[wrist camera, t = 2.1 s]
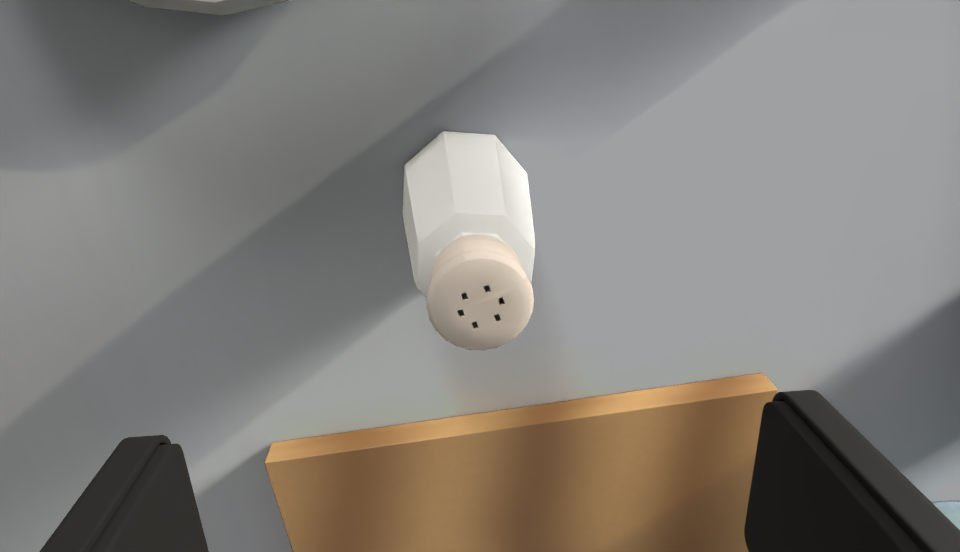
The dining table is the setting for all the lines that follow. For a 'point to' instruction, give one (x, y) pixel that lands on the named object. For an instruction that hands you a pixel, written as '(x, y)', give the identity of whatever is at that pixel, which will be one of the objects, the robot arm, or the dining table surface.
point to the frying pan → (208, 5)
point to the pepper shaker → (470, 238)
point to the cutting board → (535, 477)
